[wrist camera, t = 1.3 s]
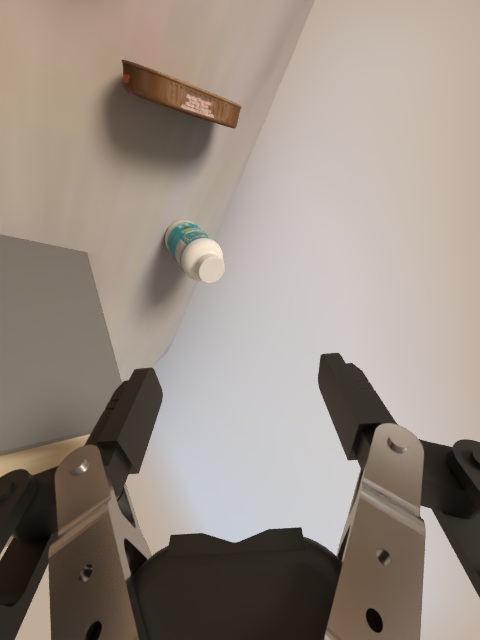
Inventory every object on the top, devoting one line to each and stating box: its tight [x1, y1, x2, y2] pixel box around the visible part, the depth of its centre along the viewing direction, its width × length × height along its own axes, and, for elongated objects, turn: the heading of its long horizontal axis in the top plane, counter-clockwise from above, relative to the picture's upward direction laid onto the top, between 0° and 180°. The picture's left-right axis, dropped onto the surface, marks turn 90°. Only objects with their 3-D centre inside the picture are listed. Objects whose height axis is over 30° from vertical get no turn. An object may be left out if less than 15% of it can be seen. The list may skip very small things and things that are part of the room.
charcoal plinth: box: [0, 235, 122, 456], centre depth 27 cm, size 12×10×32 cm
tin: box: [122, 60, 241, 128], centre depth 30 cm, size 15×3×8 cm, turn 75°
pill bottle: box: [165, 220, 225, 283], centre depth 41 cm, size 8×7×14 cm
